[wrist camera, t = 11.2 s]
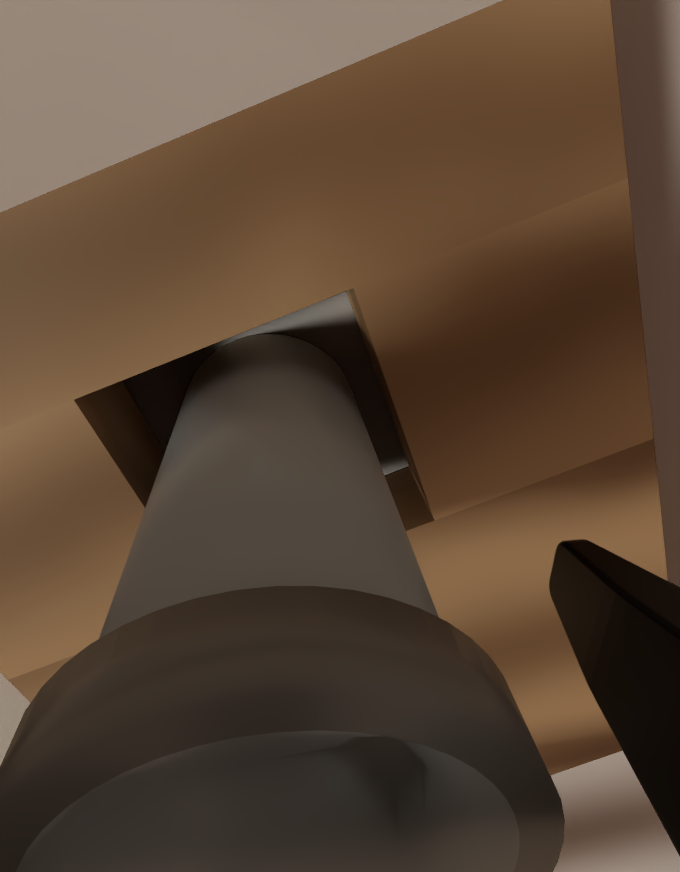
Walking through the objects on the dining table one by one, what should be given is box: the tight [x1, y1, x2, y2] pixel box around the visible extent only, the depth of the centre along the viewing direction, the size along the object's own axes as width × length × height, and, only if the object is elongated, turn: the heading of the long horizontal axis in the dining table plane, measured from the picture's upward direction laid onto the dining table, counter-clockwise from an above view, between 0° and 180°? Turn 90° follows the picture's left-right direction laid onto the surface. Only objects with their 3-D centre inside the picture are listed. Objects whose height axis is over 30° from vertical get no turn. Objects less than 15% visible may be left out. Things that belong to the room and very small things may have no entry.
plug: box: [0, 334, 565, 872], centre depth 9 cm, size 5×5×10 cm
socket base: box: [0, 0, 668, 775], centre depth 14 cm, size 20×16×2 cm
